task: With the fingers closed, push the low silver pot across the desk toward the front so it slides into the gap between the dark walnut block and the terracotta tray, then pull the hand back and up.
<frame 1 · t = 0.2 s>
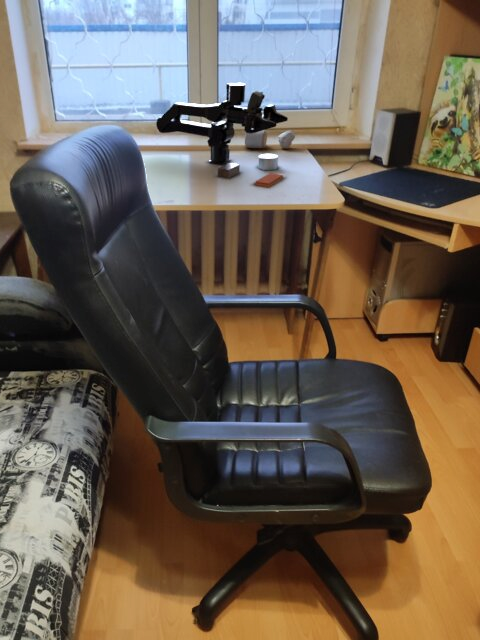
hand: (281, 122, 192), 17 cm above the table, tool horizontal, fingers open, 9 cm apart
terracotta tray: (268, 181, 192), on the table
frog figurine: (285, 148, 227), on the table
ceramic mug: (255, 147, 230), on the table
walnut block: (228, 174, 199), on the table
silver pot: (267, 167, 206), on the table
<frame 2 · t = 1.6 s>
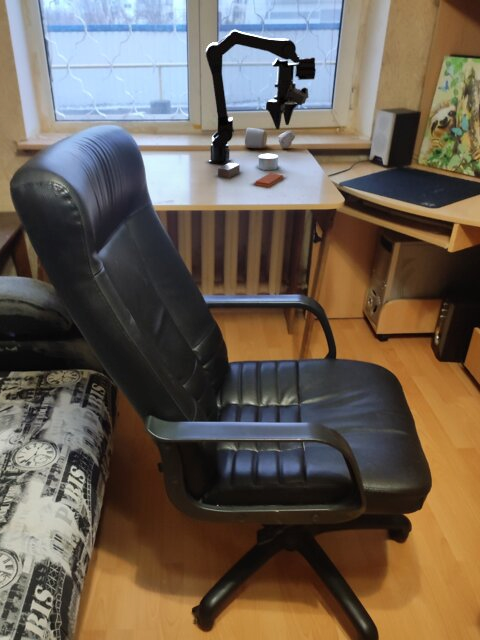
hand: (282, 127, 206), 12 cm above the table, tool pointing down, fingers open, 8 cm apart
nothing on the table moved.
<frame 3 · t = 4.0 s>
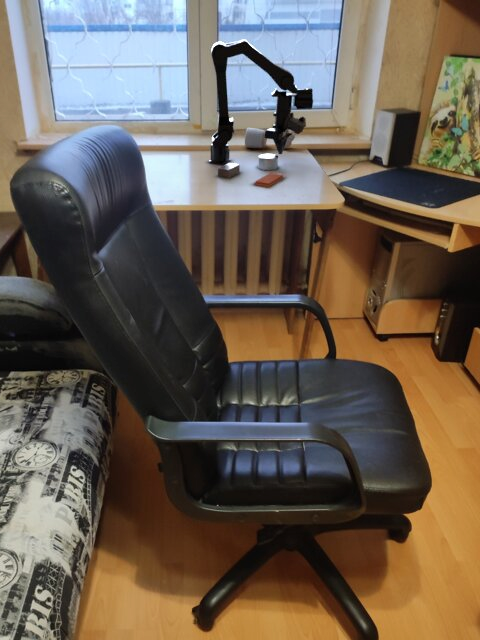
hand: (280, 153, 211), 3 cm above the table, tool pointing down, fingers closed
nothing on the table moved.
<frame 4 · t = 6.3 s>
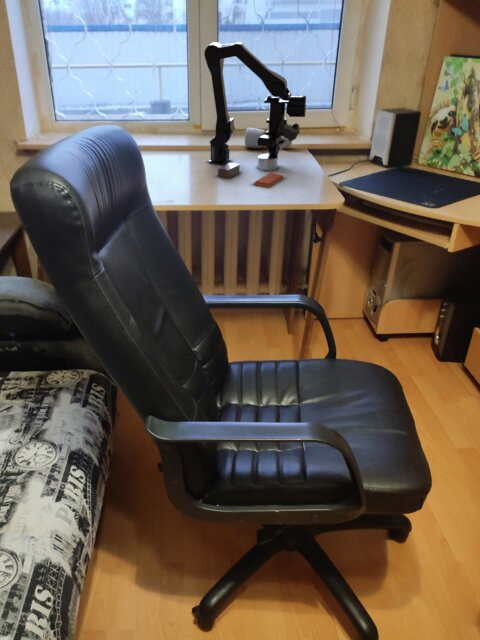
hand: (274, 160, 208), 1 cm above the table, tool pointing down, fingers closed
silver pot: (267, 167, 206), on the table, touching gripper
everything else where it was.
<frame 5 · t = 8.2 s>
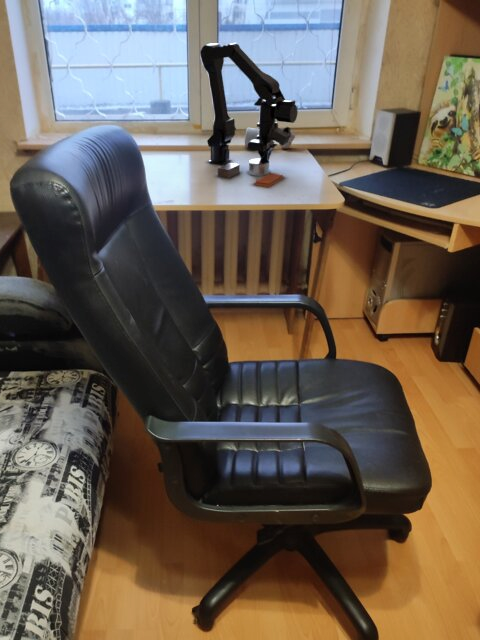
hand: (265, 165, 203), 1 cm above the table, tool pointing down, fingers closed
silver pot: (258, 172, 201), on the table, touching gripper
everything else where it was.
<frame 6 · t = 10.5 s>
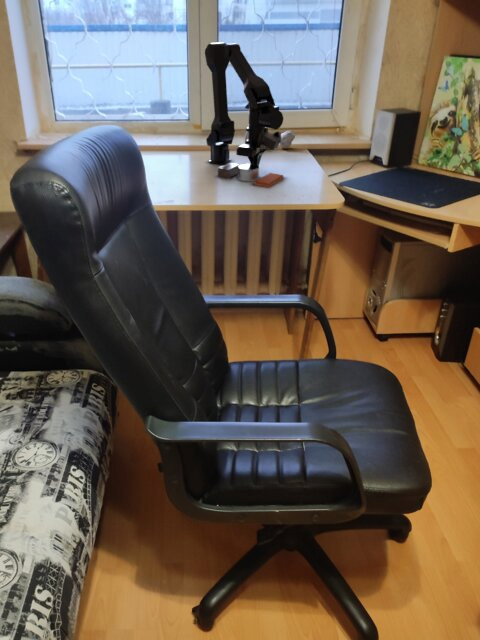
hand: (255, 170, 198), 1 cm above the table, tool pointing down, fingers closed
silver pot: (248, 178, 195), on the table, touching gripper
everything else where it was.
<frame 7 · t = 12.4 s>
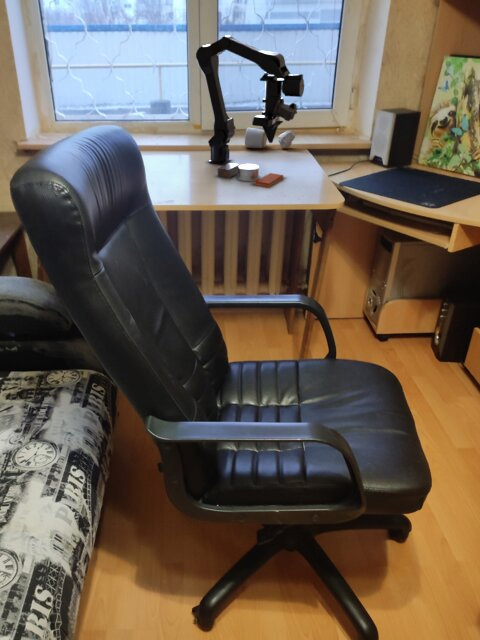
hand: (270, 142, 201), 9 cm above the table, tool pointing down, fingers closed
silver pot: (248, 178, 195), on the table
everything else where it was.
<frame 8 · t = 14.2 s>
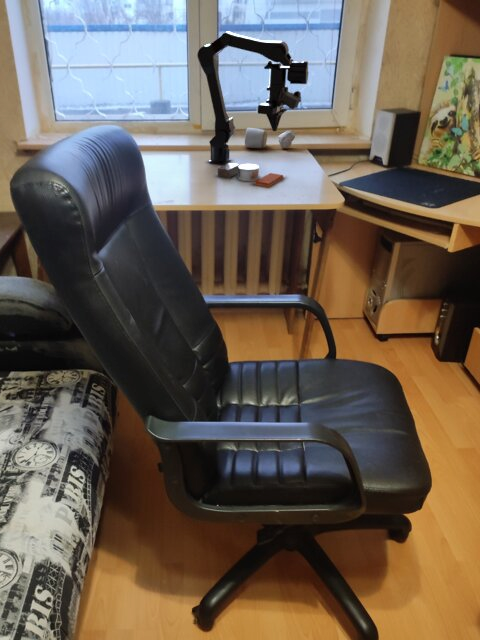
hand: (274, 131, 201), 12 cm above the table, tool pointing down, fingers closed
nothing on the table moved.
at the end: silver pot inside the target area (0.2 cm from its centre), on the table; silver pot tilted 0°; walnut block moved 0.0 cm from its start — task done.
